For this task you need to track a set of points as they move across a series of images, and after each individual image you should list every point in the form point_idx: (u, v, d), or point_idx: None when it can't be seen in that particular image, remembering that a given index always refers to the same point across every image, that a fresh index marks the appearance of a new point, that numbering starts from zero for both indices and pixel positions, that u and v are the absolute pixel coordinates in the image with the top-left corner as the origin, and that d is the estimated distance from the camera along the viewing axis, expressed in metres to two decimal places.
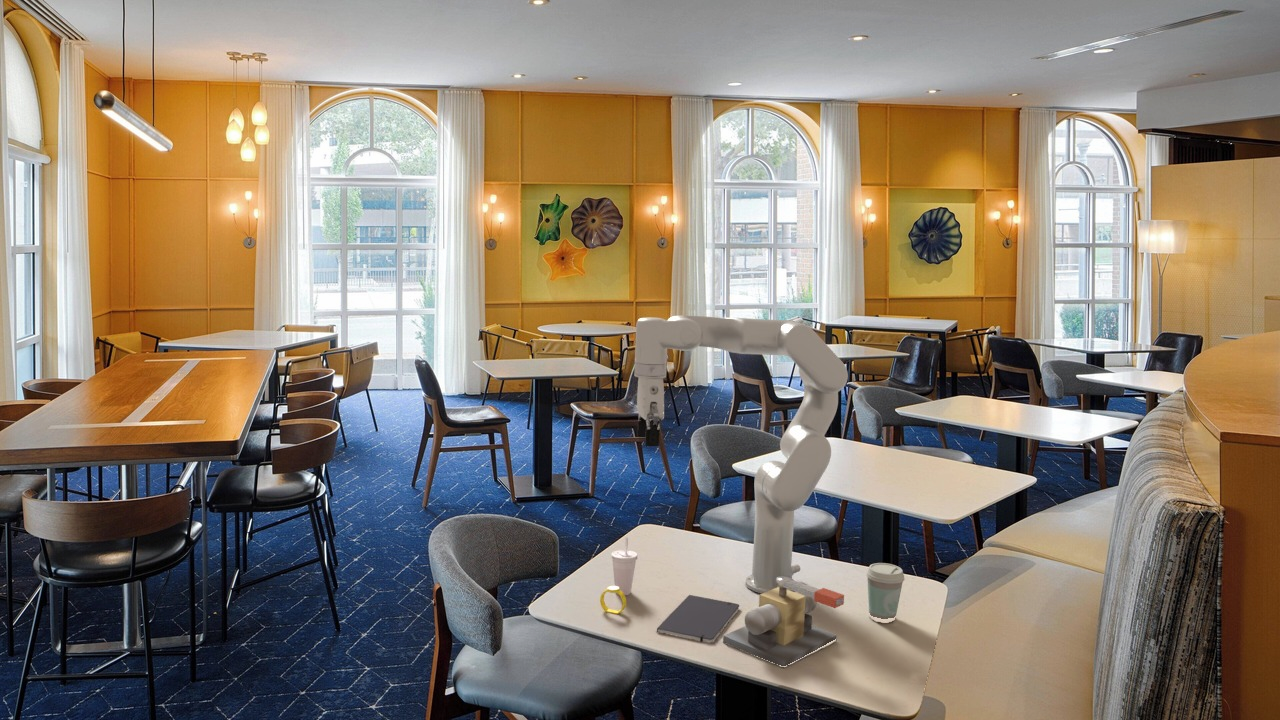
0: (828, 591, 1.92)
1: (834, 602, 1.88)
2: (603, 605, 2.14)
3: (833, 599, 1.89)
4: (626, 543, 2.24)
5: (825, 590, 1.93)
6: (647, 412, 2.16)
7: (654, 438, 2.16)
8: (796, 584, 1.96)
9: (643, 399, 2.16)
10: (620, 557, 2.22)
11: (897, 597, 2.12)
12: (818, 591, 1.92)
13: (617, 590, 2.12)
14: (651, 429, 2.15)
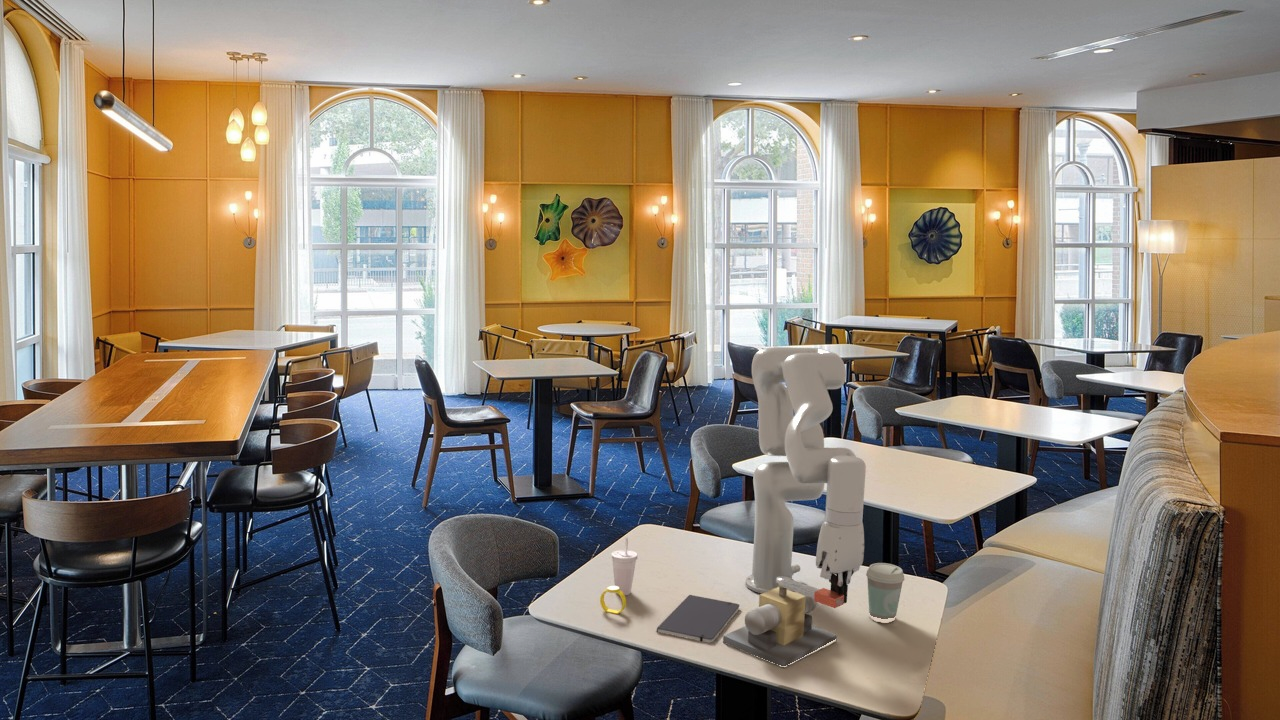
0: (828, 591, 1.92)
1: (834, 602, 1.88)
2: (603, 605, 2.14)
3: (833, 599, 1.89)
4: (626, 543, 2.24)
5: (825, 590, 1.93)
6: None
7: None
8: (796, 584, 1.96)
9: (862, 545, 1.93)
10: (620, 557, 2.22)
11: (897, 597, 2.12)
12: (818, 591, 1.92)
13: (617, 590, 2.12)
14: None
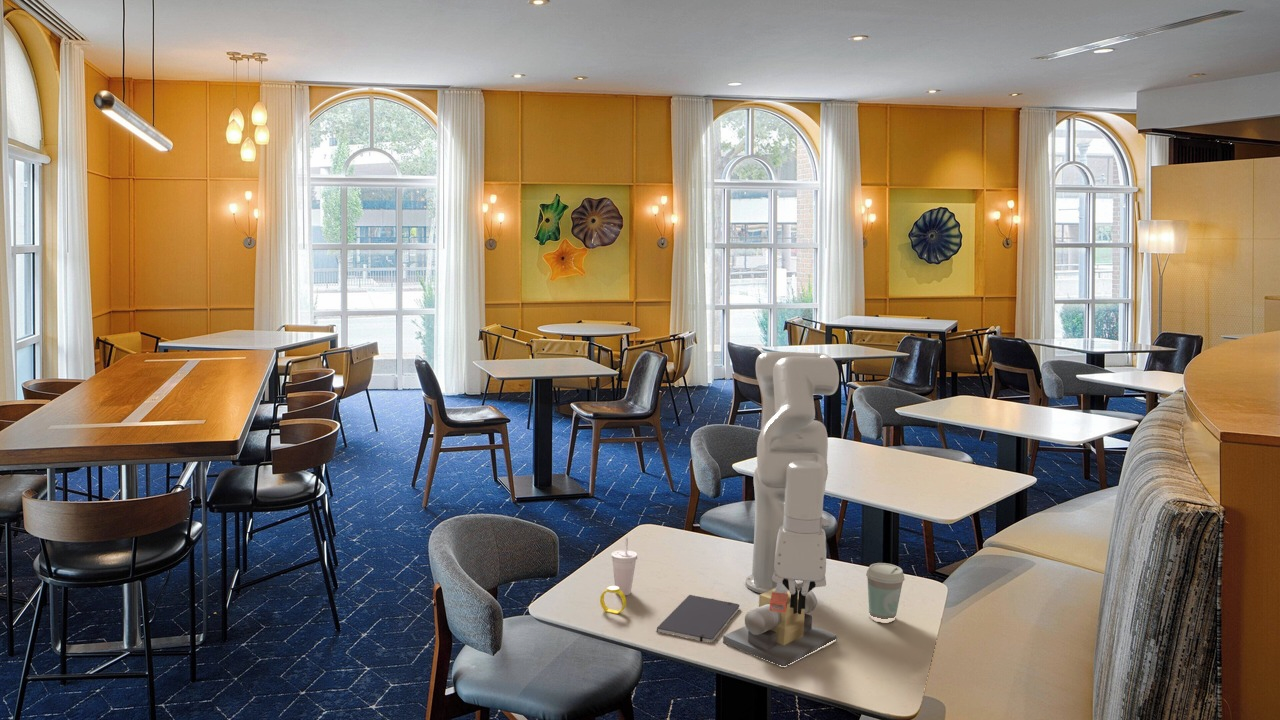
0: (783, 596, 1.88)
1: (770, 604, 1.86)
2: (603, 605, 2.14)
3: (770, 601, 1.86)
4: (626, 543, 2.24)
5: (783, 595, 1.89)
6: None
7: None
8: (780, 585, 1.96)
9: (820, 559, 1.84)
10: (620, 557, 2.22)
11: (897, 597, 2.12)
12: (775, 593, 1.90)
13: (617, 590, 2.12)
14: None
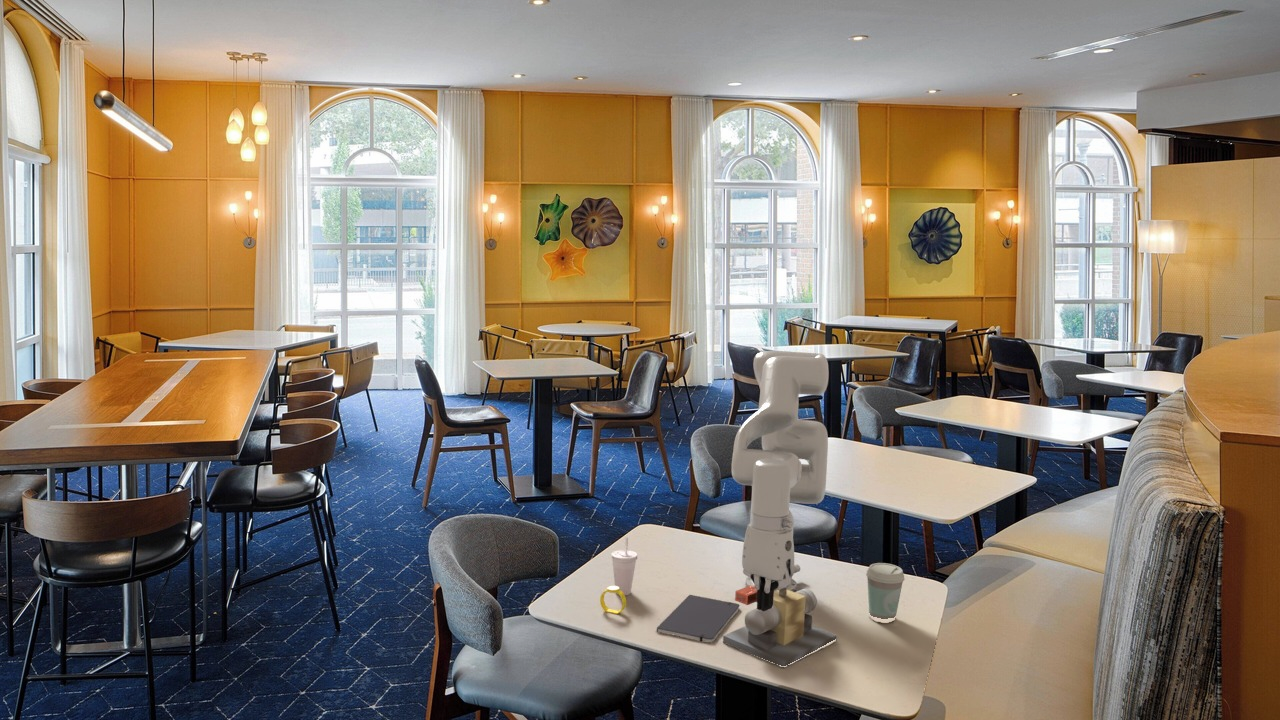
0: (754, 590, 1.91)
1: None
2: (603, 605, 2.14)
3: None
4: (626, 543, 2.24)
5: None
6: (776, 580, 1.85)
7: (771, 600, 1.88)
8: None
9: (777, 558, 1.83)
10: (620, 557, 2.22)
11: (897, 597, 2.12)
12: (752, 586, 1.93)
13: (617, 590, 2.12)
14: (771, 591, 1.87)
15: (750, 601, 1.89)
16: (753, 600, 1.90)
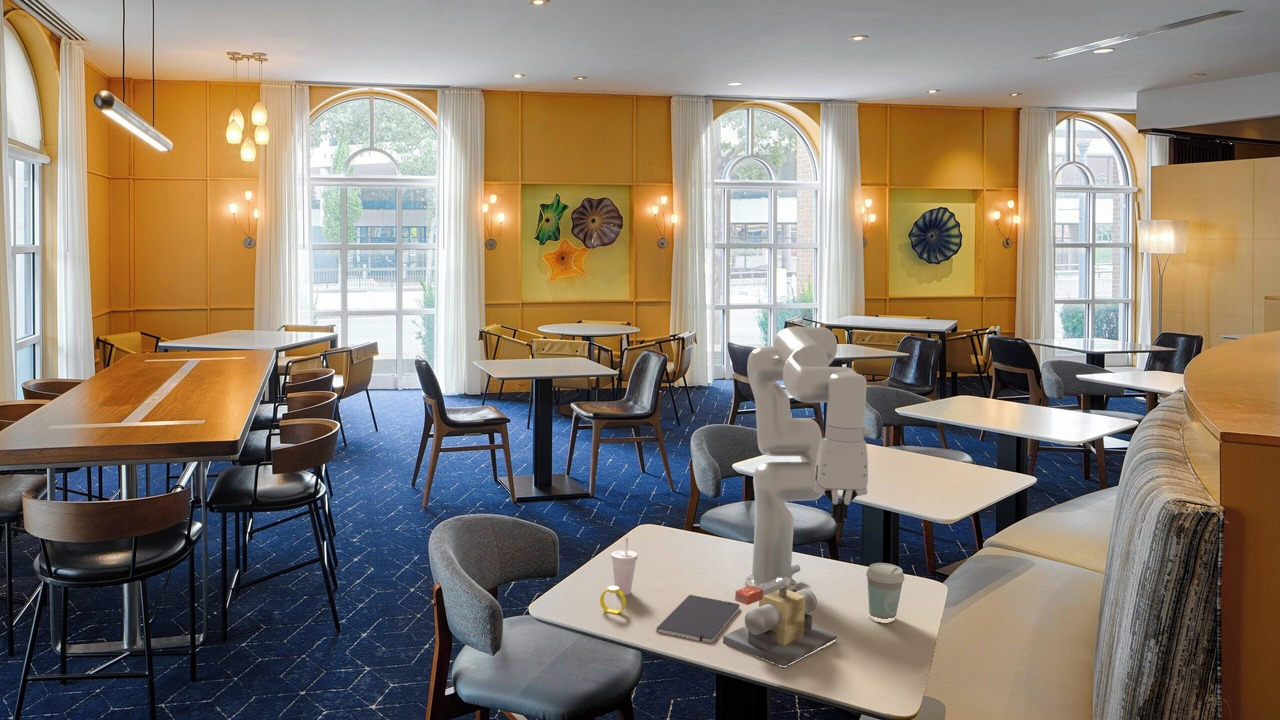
0: (754, 590, 1.91)
1: None
2: (603, 605, 2.14)
3: None
4: (626, 543, 2.24)
5: (756, 589, 1.92)
6: None
7: None
8: (771, 582, 1.97)
9: (863, 467, 1.87)
10: (620, 557, 2.22)
11: (897, 597, 2.12)
12: (752, 586, 1.93)
13: (617, 590, 2.12)
14: None
15: (750, 601, 1.89)
16: (753, 600, 1.90)
